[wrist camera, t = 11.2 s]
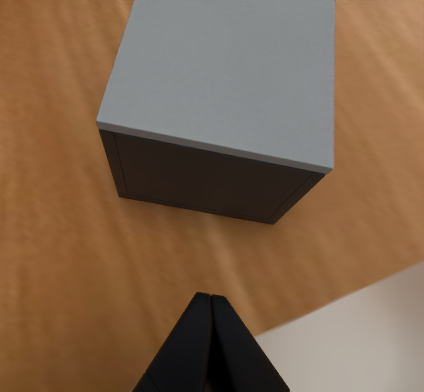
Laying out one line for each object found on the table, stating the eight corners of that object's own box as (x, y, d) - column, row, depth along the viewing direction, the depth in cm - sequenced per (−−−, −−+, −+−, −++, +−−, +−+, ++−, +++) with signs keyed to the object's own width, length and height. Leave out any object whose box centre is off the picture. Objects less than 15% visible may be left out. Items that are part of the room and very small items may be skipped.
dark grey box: (154, 70, 30) (152, -26, 22) (280, 97, 31) (321, 15, 23) (118, 196, 24) (98, 130, 16) (273, 224, 25) (326, 175, 17)
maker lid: (155, -51, 21) (154, -64, 20) (329, -7, 22) (335, -18, 21) (98, 129, 16) (95, 120, 15) (326, 174, 17) (334, 168, 16)
